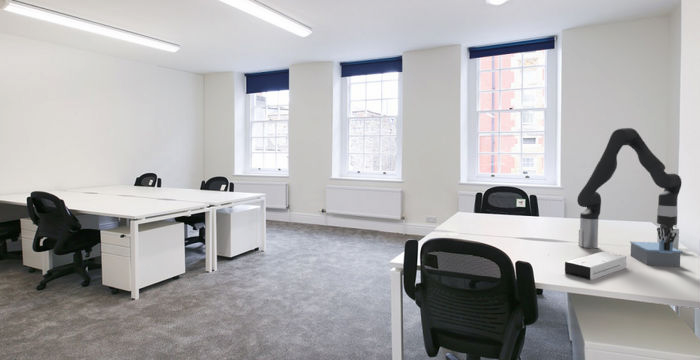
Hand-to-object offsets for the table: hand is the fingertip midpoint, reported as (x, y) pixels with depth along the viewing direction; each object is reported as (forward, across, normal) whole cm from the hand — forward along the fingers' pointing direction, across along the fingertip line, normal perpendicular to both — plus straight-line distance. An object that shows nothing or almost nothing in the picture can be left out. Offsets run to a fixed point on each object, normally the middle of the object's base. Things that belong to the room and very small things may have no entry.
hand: (665, 249), depth 188 cm
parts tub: (+9, -11, 0) cm, 14 cm away
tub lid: (+3, -10, 0) cm, 10 cm away
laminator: (+9, +14, -35) cm, 39 cm away
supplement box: (+9, -42, +20) cm, 47 cm away
